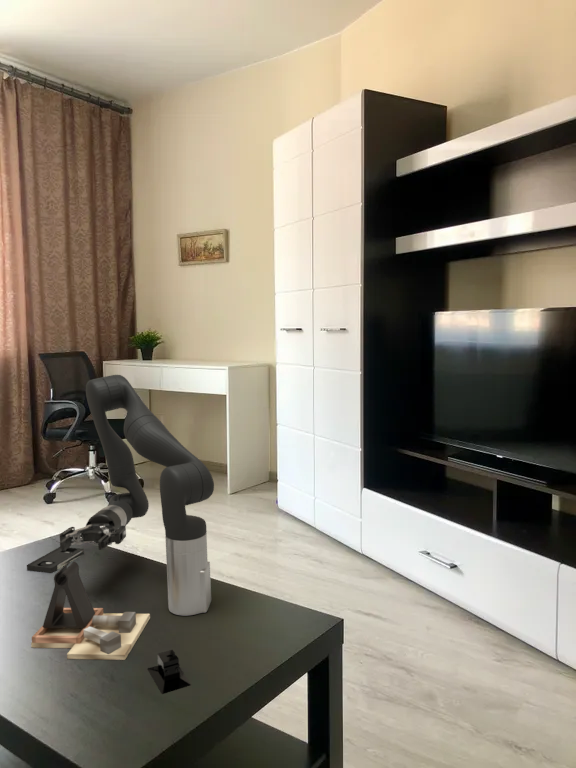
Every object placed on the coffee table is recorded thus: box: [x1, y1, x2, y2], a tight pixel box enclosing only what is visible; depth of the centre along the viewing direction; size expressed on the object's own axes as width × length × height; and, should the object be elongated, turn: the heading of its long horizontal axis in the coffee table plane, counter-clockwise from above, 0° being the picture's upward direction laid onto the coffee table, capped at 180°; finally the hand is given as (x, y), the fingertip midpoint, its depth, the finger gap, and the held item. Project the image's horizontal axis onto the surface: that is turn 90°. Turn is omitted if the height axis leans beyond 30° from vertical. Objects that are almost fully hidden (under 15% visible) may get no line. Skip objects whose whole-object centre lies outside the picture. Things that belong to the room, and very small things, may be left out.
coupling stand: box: [30, 607, 151, 661], centre depth 129 cm, size 21×17×4 cm
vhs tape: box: [26, 546, 85, 574], centre depth 171 cm, size 14×8×2 cm, turn 163°
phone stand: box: [42, 561, 95, 628], centre depth 131 cm, size 9×6×12 cm, turn 87°
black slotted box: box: [147, 649, 192, 695], centre depth 114 cm, size 12×7×5 cm, turn 28°
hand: (81, 546), depth 138 cm, fingers open, 8 cm apart
